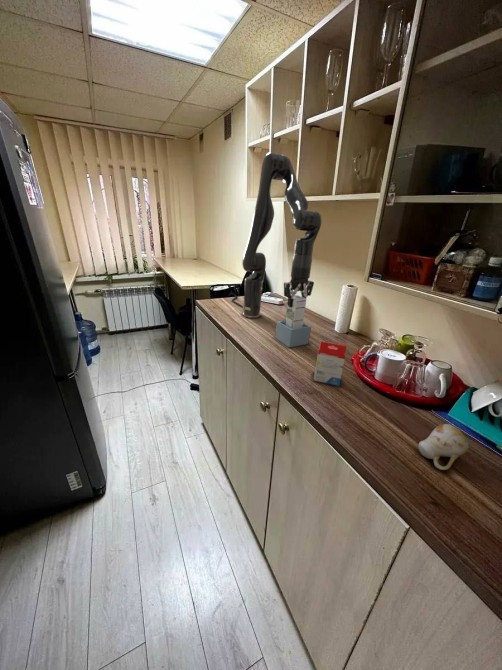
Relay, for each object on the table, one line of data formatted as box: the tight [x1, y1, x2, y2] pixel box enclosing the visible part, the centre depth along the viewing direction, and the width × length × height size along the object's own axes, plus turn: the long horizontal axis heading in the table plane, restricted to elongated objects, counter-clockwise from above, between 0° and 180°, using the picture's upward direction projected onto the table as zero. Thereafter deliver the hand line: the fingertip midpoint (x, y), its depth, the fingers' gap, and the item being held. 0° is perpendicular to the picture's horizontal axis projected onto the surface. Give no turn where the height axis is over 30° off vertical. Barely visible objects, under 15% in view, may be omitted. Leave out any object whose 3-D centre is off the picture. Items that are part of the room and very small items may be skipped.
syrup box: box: [284, 294, 307, 329], centre depth 116 cm, size 6×6×14 cm
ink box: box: [313, 340, 348, 387], centre depth 90 cm, size 8×5×15 cm, turn 71°
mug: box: [418, 423, 469, 471], centre depth 64 cm, size 8×10×10 cm
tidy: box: [274, 319, 312, 348], centre depth 119 cm, size 11×11×8 cm
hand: (296, 306), depth 115 cm, fingers closed on syrup box, 5 cm apart
